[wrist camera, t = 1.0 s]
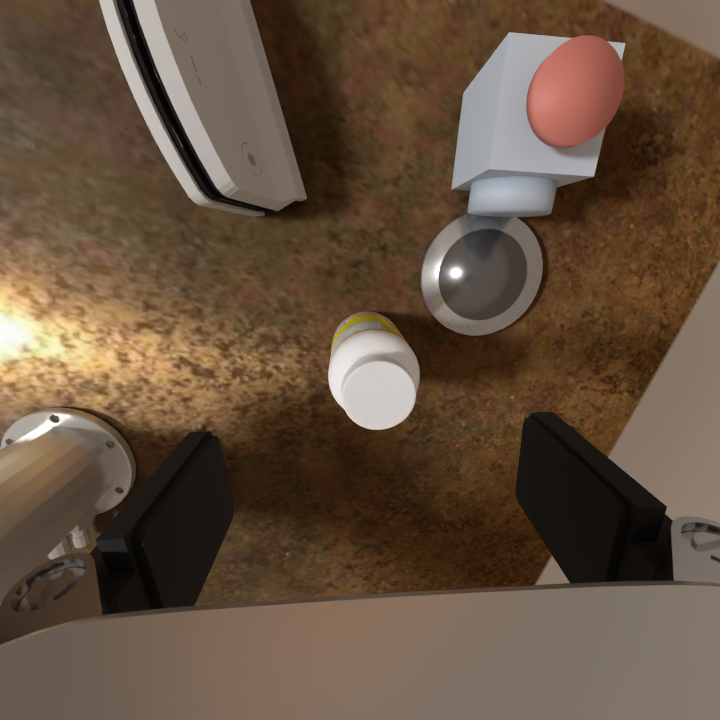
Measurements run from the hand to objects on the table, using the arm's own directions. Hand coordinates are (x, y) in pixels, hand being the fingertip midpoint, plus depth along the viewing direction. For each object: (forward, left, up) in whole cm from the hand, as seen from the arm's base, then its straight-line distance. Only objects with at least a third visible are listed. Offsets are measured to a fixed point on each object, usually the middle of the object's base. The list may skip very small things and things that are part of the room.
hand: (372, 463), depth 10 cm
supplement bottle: (-2, -1, -23) cm, 24 cm away
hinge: (+16, +11, -24) cm, 31 cm away
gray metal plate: (+5, -11, -23) cm, 26 cm away
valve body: (+15, -11, -23) cm, 30 cm away
